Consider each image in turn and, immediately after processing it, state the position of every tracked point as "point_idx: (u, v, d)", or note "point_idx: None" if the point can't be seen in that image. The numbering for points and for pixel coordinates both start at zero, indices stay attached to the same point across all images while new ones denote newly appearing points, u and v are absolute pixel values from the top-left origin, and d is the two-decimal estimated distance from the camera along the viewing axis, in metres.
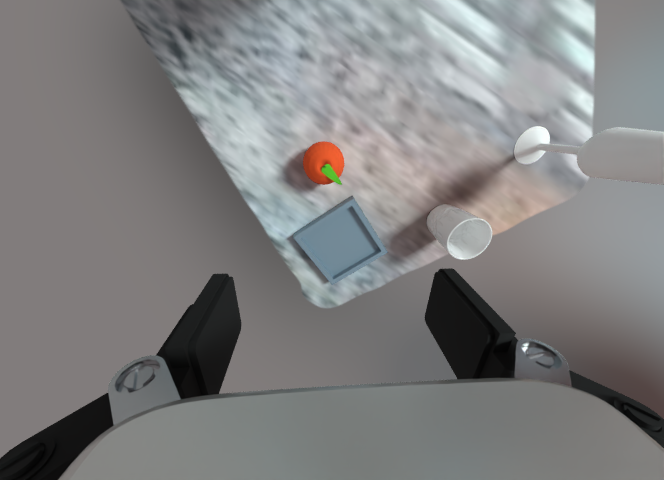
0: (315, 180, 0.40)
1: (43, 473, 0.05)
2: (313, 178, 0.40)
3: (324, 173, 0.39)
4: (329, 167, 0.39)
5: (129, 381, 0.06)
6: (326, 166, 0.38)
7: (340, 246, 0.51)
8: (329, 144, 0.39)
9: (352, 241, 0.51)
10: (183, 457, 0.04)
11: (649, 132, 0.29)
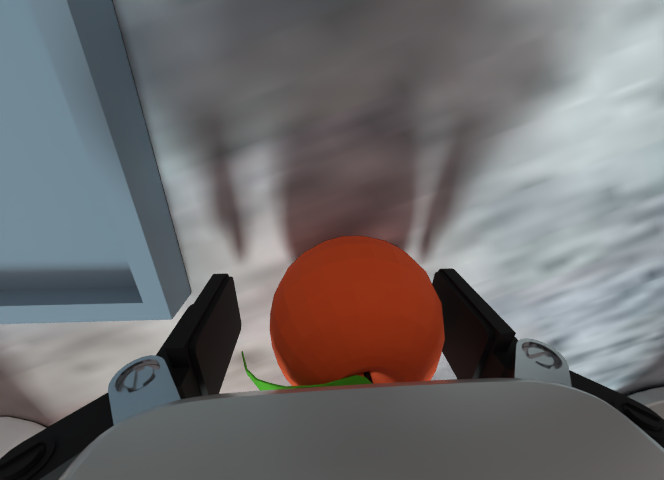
0: (331, 304, 0.07)
1: (43, 473, 0.05)
2: (345, 297, 0.07)
3: (341, 378, 0.07)
4: None
5: (129, 381, 0.06)
6: None
7: None
8: None
9: None
10: (183, 457, 0.04)
11: None
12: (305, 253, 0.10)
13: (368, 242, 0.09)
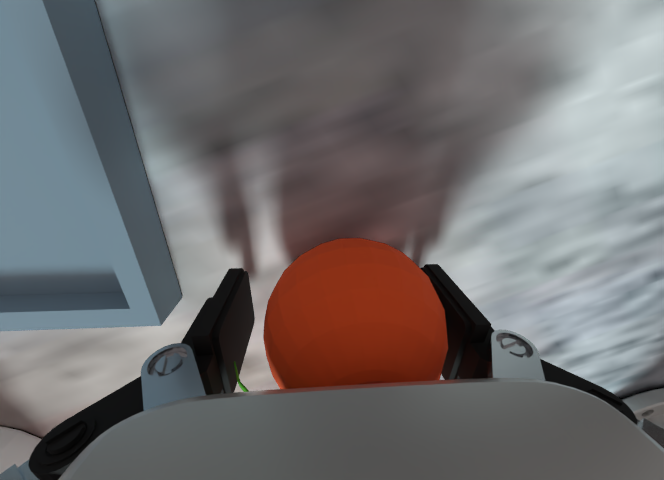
0: (328, 313, 0.07)
1: None
2: (343, 306, 0.07)
3: None
4: None
5: (160, 366, 0.07)
6: None
7: None
8: None
9: None
10: (183, 457, 0.04)
11: None
12: (301, 257, 0.09)
13: (368, 245, 0.09)
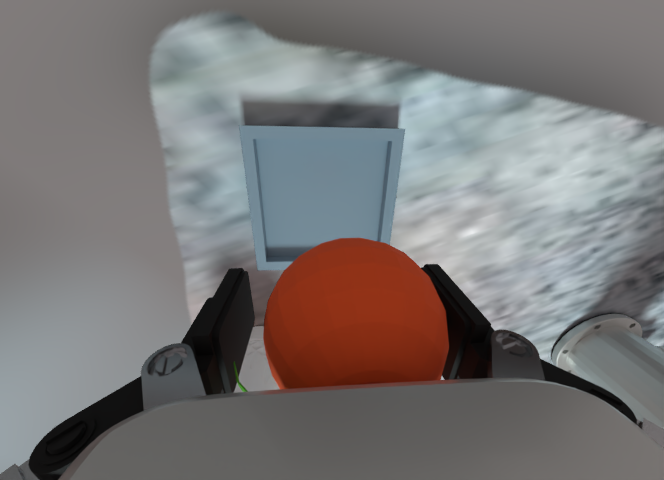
0: (328, 314, 0.07)
1: None
2: (344, 306, 0.07)
3: None
4: None
5: (160, 366, 0.07)
6: None
7: (316, 197, 0.24)
8: None
9: (311, 221, 0.26)
10: (183, 457, 0.04)
11: None
12: (301, 256, 0.09)
13: (368, 245, 0.08)
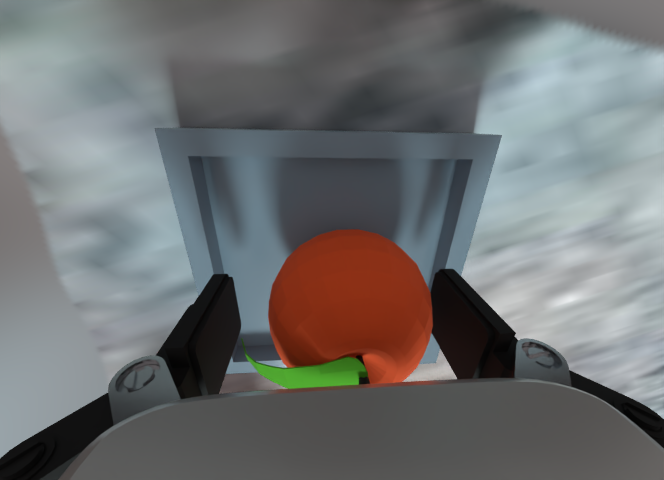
0: (325, 291, 0.08)
1: (43, 473, 0.05)
2: (339, 285, 0.08)
3: (334, 359, 0.08)
4: None
5: (129, 381, 0.06)
6: (357, 384, 0.08)
7: None
8: None
9: None
10: (183, 457, 0.04)
11: None
12: (302, 245, 0.10)
13: (361, 234, 0.10)
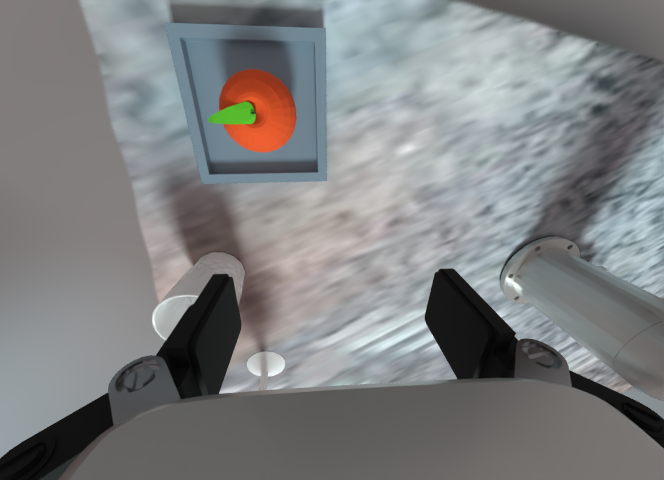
0: (237, 79, 0.20)
1: (43, 473, 0.05)
2: (242, 76, 0.20)
3: (240, 102, 0.20)
4: (247, 120, 0.20)
5: (129, 381, 0.06)
6: (251, 116, 0.20)
7: None
8: (282, 142, 0.23)
9: None
10: (183, 457, 0.04)
11: None
12: None
13: (258, 69, 0.22)
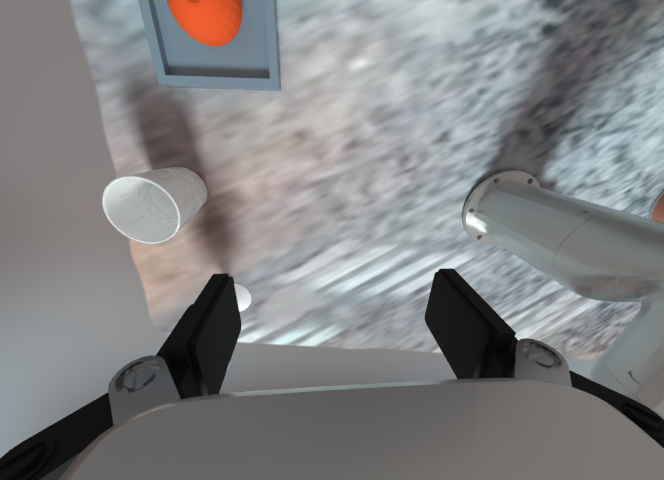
0: None
1: (43, 473, 0.05)
2: None
3: None
4: None
5: (129, 381, 0.06)
6: None
7: None
8: (226, 31, 0.25)
9: None
10: (183, 457, 0.04)
11: None
12: None
13: None
